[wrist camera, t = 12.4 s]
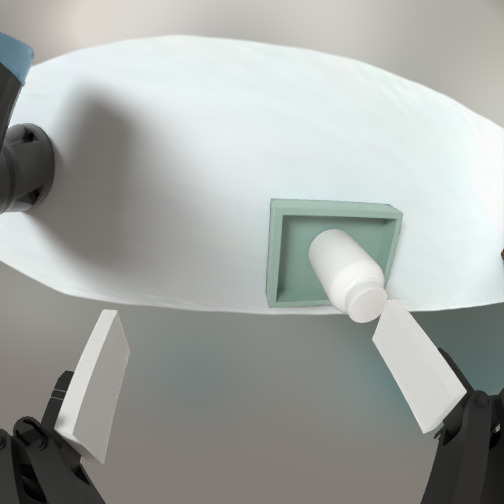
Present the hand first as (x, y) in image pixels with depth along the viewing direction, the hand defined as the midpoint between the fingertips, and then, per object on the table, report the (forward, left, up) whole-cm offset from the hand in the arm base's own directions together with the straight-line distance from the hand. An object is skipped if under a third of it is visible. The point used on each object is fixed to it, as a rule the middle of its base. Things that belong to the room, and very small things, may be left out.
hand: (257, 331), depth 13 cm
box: (+15, -10, -30) cm, 35 cm away
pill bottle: (+15, -9, -29) cm, 34 cm away
